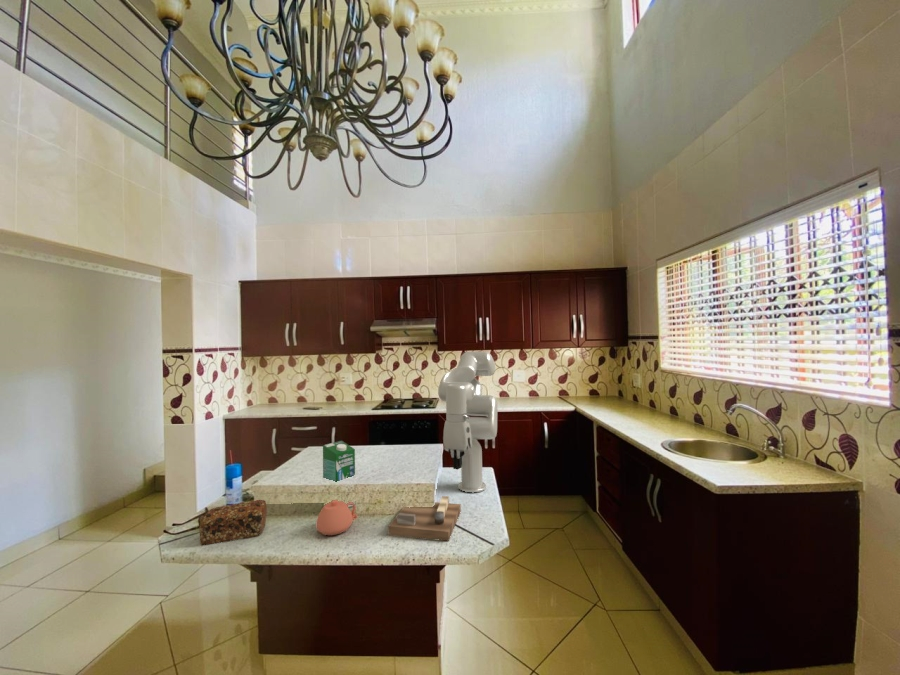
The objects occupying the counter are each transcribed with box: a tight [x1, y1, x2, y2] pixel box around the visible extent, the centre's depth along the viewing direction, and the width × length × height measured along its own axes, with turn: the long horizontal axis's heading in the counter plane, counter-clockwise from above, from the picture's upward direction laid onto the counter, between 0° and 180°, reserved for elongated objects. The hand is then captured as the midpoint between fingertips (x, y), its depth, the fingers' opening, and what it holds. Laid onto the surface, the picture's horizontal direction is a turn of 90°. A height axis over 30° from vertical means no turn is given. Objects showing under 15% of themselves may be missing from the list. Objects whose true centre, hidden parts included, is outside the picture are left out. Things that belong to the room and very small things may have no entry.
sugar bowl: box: [315, 500, 358, 536], centre depth 125 cm, size 12×14×10 cm
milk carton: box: [322, 440, 356, 482], centre depth 144 cm, size 9×9×25 cm
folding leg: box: [435, 495, 450, 524], centre depth 129 cm, size 17×3×3 cm, turn 172°
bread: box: [198, 499, 268, 546], centre depth 123 cm, size 19×11×10 cm, turn 107°
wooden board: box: [387, 501, 462, 542], centre depth 128 cm, size 21×21×6 cm
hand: (457, 468), depth 130 cm, fingers closed
